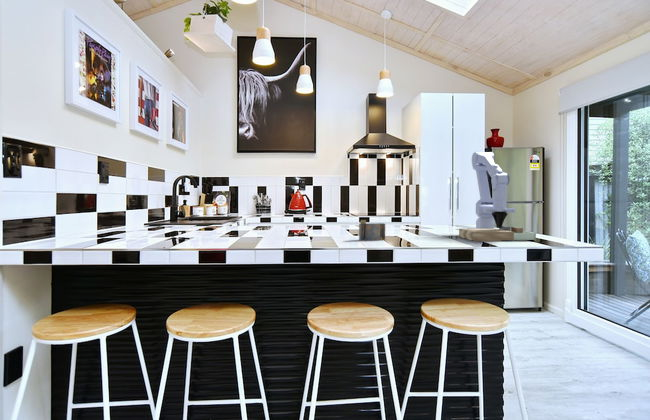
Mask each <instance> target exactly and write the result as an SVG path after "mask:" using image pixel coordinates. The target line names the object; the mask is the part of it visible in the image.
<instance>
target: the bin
mask: <svg viewBox="0 0 650 420" xmlns="http://www.w3.org/2000/svg"><path fill="white" fill-rule="evenodd" d="M510 231H511V229H510ZM514 240H534V241H533V242H536V241H537V233H536V232H533V231H532V232H531V231H525V230H523V233H514Z"/></svg>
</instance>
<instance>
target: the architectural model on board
mask: <svg viewBox="0 0 650 420" xmlns="http://www.w3.org/2000/svg"><path fill="white" fill-rule="evenodd" d="M358 230H359V231H358V241H359V240H360V241H362V240H363V241H386V223H383V222H382V223H379V222H378V223H367V219H364V220H363V219H361V220H360V222H359V224H358ZM364 239H365V240H364Z"/></svg>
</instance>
